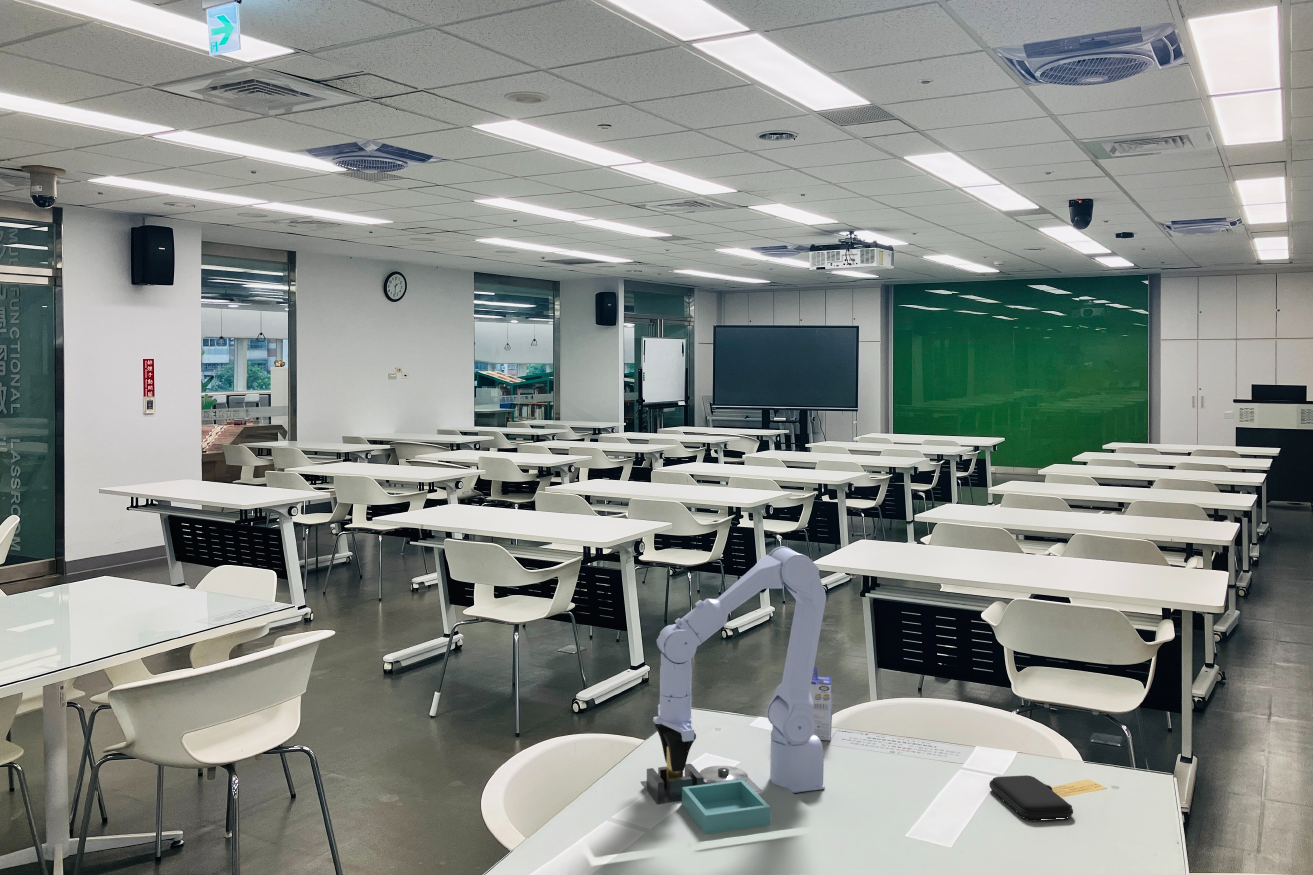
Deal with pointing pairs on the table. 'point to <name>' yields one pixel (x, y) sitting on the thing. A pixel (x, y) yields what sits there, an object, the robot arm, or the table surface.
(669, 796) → the plate
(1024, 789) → the carrying case or bag
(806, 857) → the table surface
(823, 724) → the ink cartridge box
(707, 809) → the tray
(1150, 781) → the table surface
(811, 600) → the robot arm
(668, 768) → the pin
